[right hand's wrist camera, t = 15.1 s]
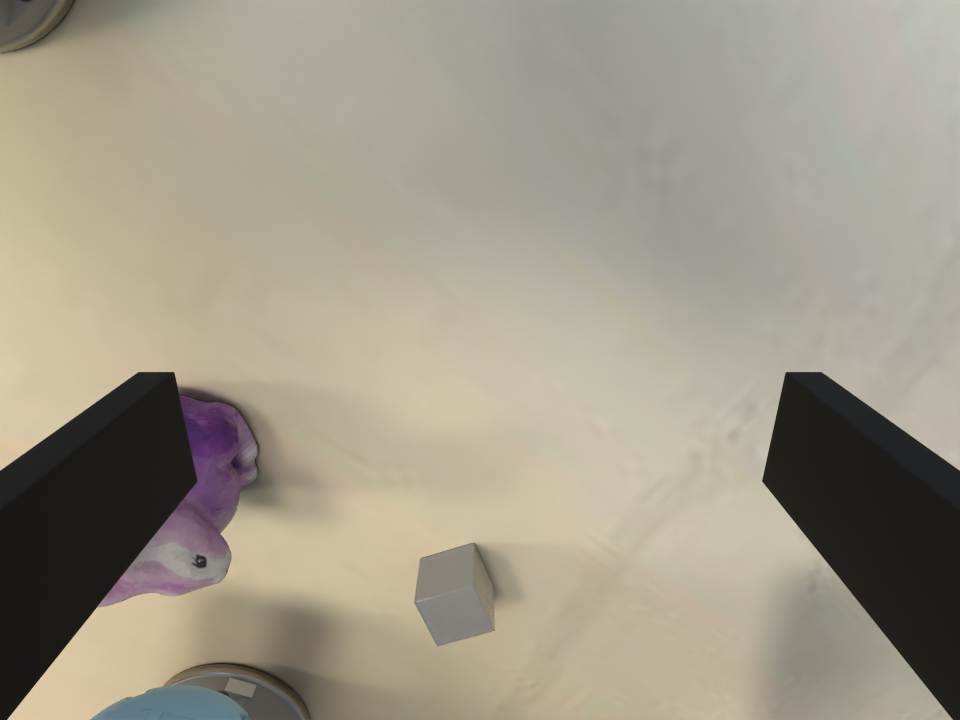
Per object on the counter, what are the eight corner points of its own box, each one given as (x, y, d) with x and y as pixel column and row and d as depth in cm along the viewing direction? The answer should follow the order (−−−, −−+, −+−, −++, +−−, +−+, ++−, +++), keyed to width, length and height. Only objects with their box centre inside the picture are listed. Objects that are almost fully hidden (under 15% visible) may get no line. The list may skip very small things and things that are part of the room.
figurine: (273, 504, 48) (187, 660, 34) (146, 480, 47) (5, 630, 33) (285, 404, 44) (195, 531, 30) (149, 377, 43) (-8, 494, 29)
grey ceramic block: (441, 600, 52) (437, 646, 47) (420, 558, 50) (413, 602, 45) (493, 585, 51) (494, 631, 46) (474, 542, 49) (473, 585, 45)
